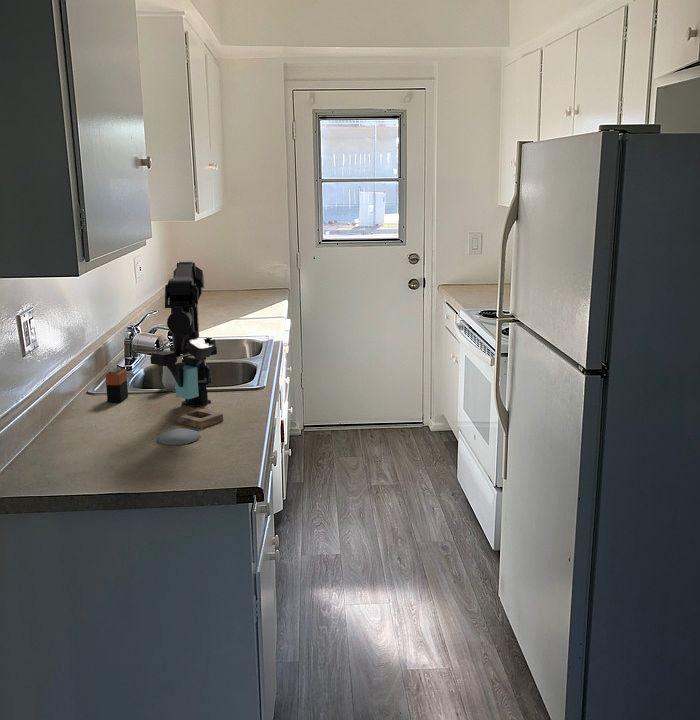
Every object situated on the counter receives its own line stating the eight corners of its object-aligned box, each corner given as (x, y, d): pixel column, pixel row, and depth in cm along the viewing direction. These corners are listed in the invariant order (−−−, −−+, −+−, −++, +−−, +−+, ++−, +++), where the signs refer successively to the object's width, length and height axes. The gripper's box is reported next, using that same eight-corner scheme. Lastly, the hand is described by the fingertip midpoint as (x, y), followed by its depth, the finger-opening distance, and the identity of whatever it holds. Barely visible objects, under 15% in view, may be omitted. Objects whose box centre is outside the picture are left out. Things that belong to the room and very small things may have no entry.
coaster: (148, 440, 197) (148, 437, 196) (180, 428, 205) (180, 426, 205) (177, 448, 190) (177, 446, 190) (209, 436, 199) (208, 434, 199)
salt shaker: (161, 386, 248) (159, 347, 245) (179, 384, 250) (177, 346, 247) (164, 390, 243) (161, 351, 240) (182, 388, 245) (179, 349, 242)
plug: (175, 396, 202) (174, 367, 200) (185, 393, 204) (183, 365, 203) (188, 399, 199) (187, 369, 197) (198, 396, 202) (197, 367, 200)
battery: (107, 402, 230) (104, 371, 228) (115, 396, 237) (112, 365, 234) (121, 403, 230) (118, 371, 227) (128, 396, 236) (126, 365, 234)
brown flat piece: (175, 422, 211) (175, 415, 210) (198, 414, 218) (197, 408, 217) (200, 428, 205) (200, 421, 205) (223, 420, 212) (222, 413, 212)
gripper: (177, 336, 186) (181, 397, 189) (230, 325, 201) (233, 382, 204) (147, 332, 192) (151, 391, 195) (200, 321, 207) (203, 377, 210)
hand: (186, 385), depth 201 cm, fingers closed on plug, 3 cm apart
